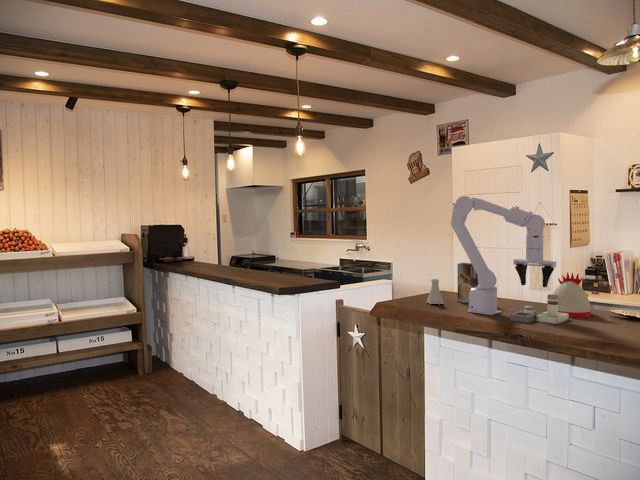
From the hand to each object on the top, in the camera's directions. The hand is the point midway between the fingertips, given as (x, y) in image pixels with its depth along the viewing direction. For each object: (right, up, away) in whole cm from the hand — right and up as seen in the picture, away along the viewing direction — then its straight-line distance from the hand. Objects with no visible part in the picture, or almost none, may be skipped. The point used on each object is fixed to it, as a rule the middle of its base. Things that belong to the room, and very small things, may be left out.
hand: (534, 286), depth 179 cm
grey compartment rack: (-6, -11, -8) cm, 15 cm away
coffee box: (-14, -9, +28) cm, 33 cm away
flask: (-30, -10, +24) cm, 40 cm away
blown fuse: (+2, -10, -9) cm, 14 cm away
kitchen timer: (+14, -11, +3) cm, 18 cm away
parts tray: (+2, -11, -9) cm, 14 cm away
